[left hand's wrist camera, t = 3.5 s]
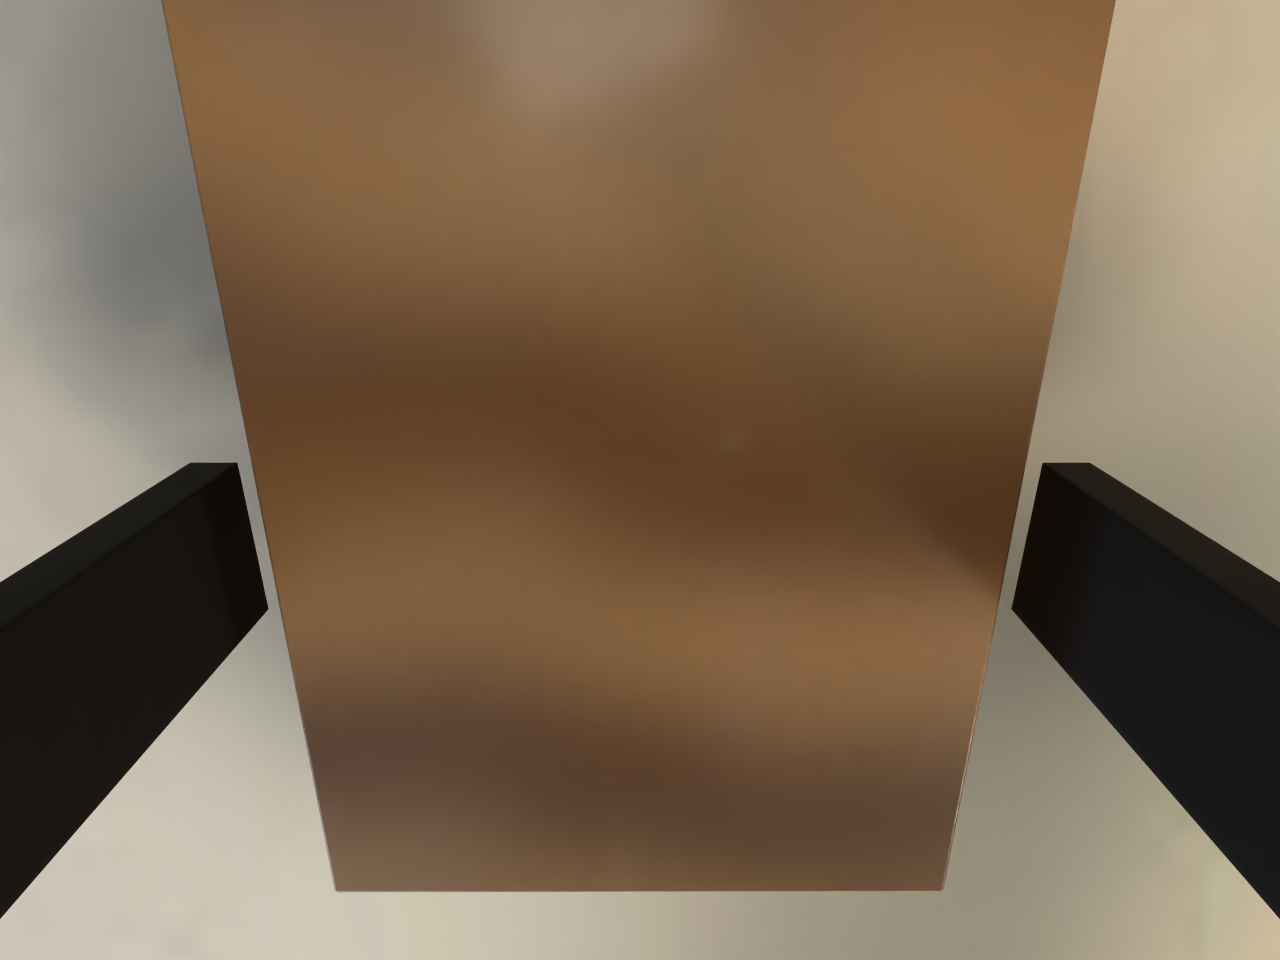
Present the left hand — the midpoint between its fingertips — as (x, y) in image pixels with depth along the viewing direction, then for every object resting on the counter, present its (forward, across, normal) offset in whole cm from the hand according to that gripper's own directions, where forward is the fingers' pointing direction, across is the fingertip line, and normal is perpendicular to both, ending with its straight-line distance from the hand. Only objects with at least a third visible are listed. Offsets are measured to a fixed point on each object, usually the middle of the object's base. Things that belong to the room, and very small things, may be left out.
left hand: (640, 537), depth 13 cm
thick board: (+5, 0, -21) cm, 21 cm away
